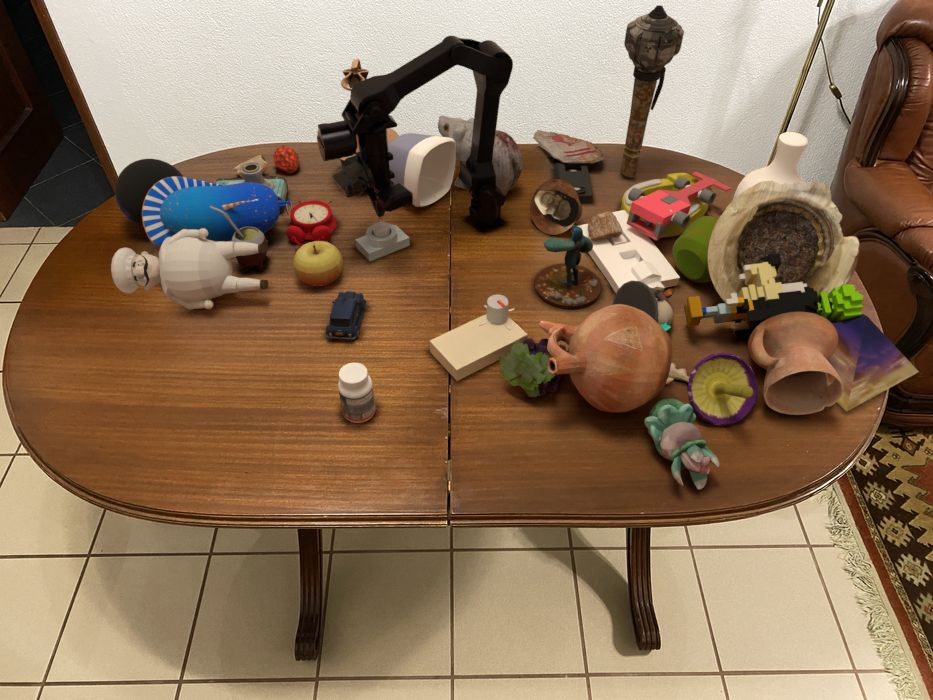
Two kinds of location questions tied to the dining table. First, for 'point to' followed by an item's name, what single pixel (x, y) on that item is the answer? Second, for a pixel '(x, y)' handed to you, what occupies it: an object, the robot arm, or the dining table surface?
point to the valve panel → (475, 345)
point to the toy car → (346, 316)
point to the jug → (612, 357)
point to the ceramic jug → (796, 362)
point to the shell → (256, 159)
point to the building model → (631, 258)
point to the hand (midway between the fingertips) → (380, 216)
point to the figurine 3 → (647, 301)
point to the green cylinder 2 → (695, 249)
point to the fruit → (530, 367)
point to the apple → (318, 263)
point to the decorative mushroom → (722, 389)
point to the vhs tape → (575, 179)
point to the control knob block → (381, 243)
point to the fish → (677, 374)
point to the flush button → (381, 229)
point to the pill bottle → (356, 393)
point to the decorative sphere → (140, 185)
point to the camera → (259, 180)
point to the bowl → (423, 165)
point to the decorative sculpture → (866, 361)
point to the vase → (779, 164)
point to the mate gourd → (250, 237)
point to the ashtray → (651, 186)
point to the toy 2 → (774, 300)
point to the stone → (603, 226)
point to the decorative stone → (286, 159)
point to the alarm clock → (311, 222)
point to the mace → (647, 74)
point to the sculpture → (504, 151)
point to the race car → (669, 204)
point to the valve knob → (497, 309)
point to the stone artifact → (568, 148)
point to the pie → (782, 237)
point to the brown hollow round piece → (555, 207)
